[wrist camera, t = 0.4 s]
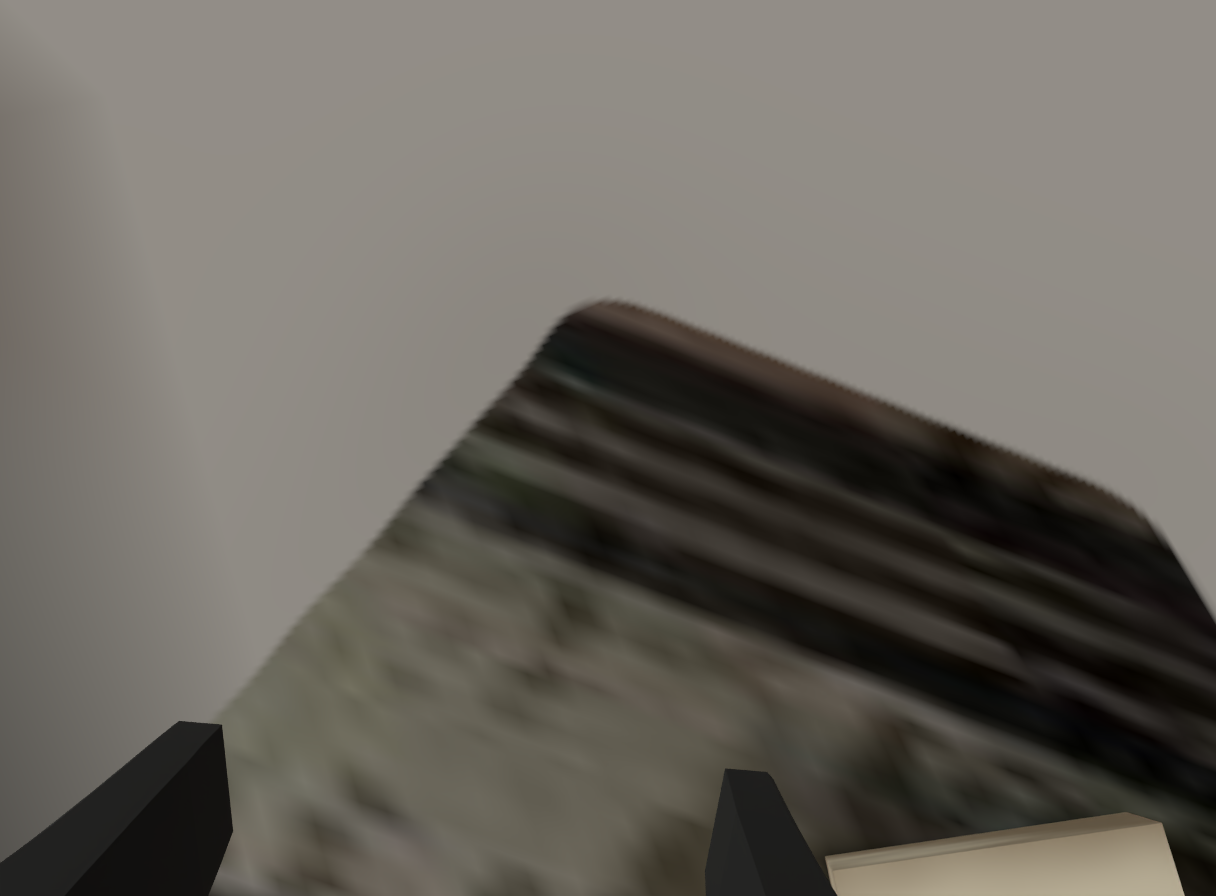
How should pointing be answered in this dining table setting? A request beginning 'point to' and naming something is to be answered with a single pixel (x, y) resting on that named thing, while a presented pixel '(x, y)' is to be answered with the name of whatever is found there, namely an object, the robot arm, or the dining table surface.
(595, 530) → the dining table surface
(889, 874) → the birch base
